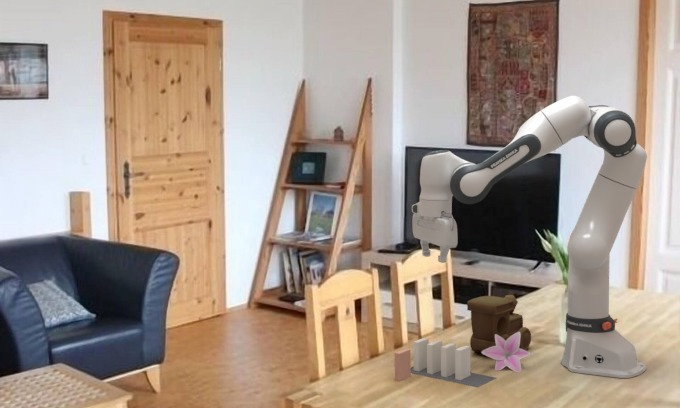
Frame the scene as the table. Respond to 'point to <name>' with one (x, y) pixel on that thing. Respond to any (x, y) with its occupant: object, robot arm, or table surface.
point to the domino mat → (472, 380)
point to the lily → (507, 352)
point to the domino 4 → (448, 359)
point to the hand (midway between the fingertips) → (434, 259)
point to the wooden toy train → (495, 322)
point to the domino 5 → (462, 363)
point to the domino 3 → (434, 357)
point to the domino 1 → (402, 364)
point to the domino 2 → (420, 354)
